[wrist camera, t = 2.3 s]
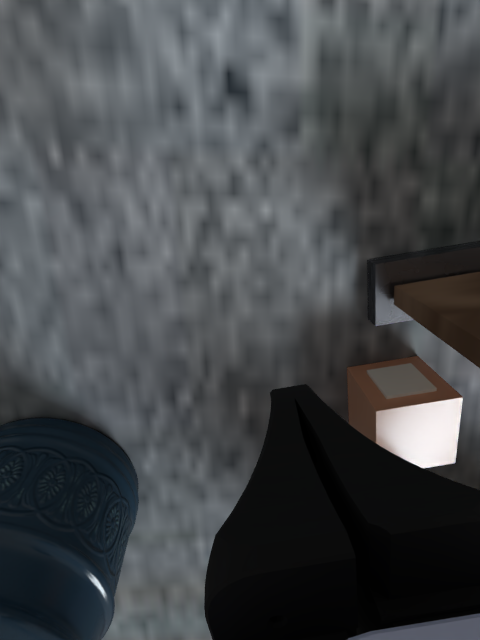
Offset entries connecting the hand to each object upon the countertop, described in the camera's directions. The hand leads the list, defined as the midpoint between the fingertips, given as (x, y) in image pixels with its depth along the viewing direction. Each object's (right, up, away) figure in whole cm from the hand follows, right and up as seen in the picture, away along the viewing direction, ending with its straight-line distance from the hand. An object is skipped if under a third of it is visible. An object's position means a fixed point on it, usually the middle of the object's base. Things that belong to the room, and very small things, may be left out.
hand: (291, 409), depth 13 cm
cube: (+8, -2, +13) cm, 15 cm away
